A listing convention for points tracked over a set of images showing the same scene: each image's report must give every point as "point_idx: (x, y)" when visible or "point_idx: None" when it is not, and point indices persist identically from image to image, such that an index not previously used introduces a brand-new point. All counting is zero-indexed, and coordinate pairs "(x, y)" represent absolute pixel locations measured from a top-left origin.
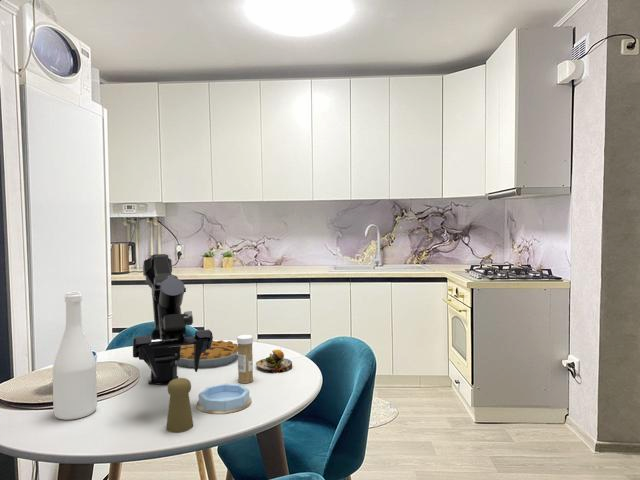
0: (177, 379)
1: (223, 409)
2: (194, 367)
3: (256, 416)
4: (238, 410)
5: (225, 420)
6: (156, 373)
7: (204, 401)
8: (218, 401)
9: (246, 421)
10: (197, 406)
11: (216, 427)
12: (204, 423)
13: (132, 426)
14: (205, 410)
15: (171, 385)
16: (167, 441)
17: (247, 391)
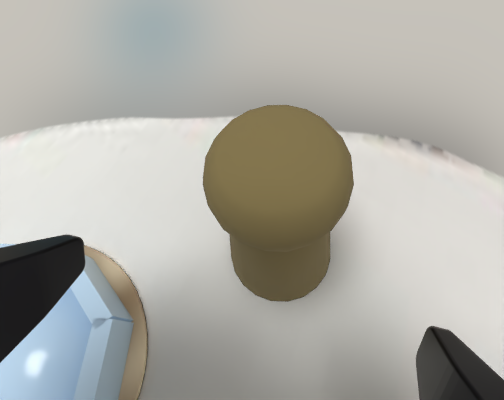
0: (285, 159)
1: (92, 260)
2: (43, 311)
3: (50, 173)
4: None
5: (135, 203)
6: (445, 332)
7: (114, 338)
8: (83, 270)
9: (95, 160)
10: (136, 392)
11: (186, 174)
12: (199, 223)
13: None
14: (138, 317)
15: (340, 138)
16: None
17: None
